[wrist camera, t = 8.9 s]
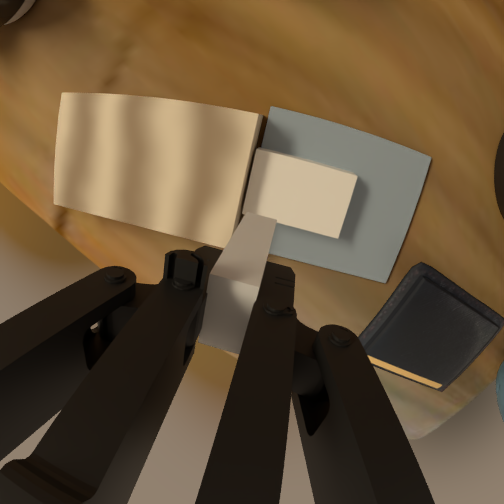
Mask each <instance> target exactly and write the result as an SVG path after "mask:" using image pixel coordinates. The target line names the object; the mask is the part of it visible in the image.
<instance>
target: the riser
mask: <svg viewBox="0 0 504 504" xmlns="http://www.w3.org/2000/svg"><path fill="white" fill-rule="evenodd" d="M262 119H263V115H260V114H256V113H251V112H246V111H241V110H236V109H231V108H225V107H220V106H214V105H208V104H201V103H195V102H188V101H180V100H172V99H164V98H155V97H145V96H133V95H119V94H101V93H62V96H61V103H60V110H59V119H58V128H57V138H56V151H55V168H54V204H56V205H60V206H63V207H67V208H71V209H75V210H79V211H82V212H86V213H90V214H94V215H98V216H102V217H105V218H109V219H113V220H117V221H121V222H125V223H128V224H132V225H136V226H140V227H144V228H148V229H152V230H155V231H159V232H163V233H167V234H171V235H175V236H179V237H183V238H186V239H190V240H194V241H198V242H202V243H206V244H210V245H214V246H217V247H221V248H225V247H226V245H227V244H228V242H229V240H230V239H231V237H232V235H233V234H234V232H235V230H236V229H237V227H238V225H239V221H240V217H241V212H242V208H243V203H244V199H245V194H246V190H247V185H248V181H249V176H250V172H251V167H252V163H253V158H254V154H255V150H256V145H257V141H258V137H259V132H260V128H261V124H262Z"/></svg>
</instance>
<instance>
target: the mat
mask: <svg viewBox="0 0 504 504" xmlns="http://www.w3.org/2000/svg"><path fill="white" fill-rule="evenodd" d="M261 148H265V149H269V150H273V151H277V152H281V153H285V154H289V155H293V156H297V157H301V158H304V159H308V160H312V161H315V162H319V163H323V164H326V165H330V166H333V167H336V168H340V169H343V170H346V171H350V172H353V173H354V174H356V175H357V176H358V177H357V180H356V183H355V187H354V190H353V193H352V197H351V200H350V203H349V206H348V209H347V213H346V216H345V219H344V222H343V225H342V228H341V231H340V234H339V237H338V239H337V238H333V237H330V236H326V235H322V234H318V233H315V232H311V231H307V230H303V229H300V228H296V227H292V226H288V225H284V224H280V223H277V222H276V226H275V230H274V234H273V238H272V241H271V245H270V249H269V253H270V254H273V255H277V256H281V257H285V258H289V259H293V260H297V261H301V262H305V263H309V264H312V265H316V266H320V267H324V268H328V269H332V270H336V271H340V272H343V273H347V274H351V275H355V276H359V277H363V278H367V279H371V280H374V281H378V282H382V283H386V281H387V279H388V277H389V274H390V272H391V270H392V267H393V265H394V263H395V260H396V258H397V255H398V253H399V250H400V248H401V245H402V243H403V240H404V238H405V235H406V232H407V230H408V227H409V224H410V222H411V219H412V216H413V213H414V210H415V208H416V205H417V202H418V199H419V196H420V193H421V190H422V187H423V184H424V180H425V177H426V174H427V171H428V167H429V164H430V161H431V157H429V156H427V155H425V154H422V153H420V152H417V151H415V150H412V149H410V148H407V147H405V146H402V145H399V144H397V143H394V142H391V141H389V140H386V139H383V138H380V137H378V136H375V135H372V134H369V133H366V132H363V131H360V130H357V129H354V128H351V127H347V126H344V125H341V124H338V123H334V122H331V121H327V120H324V119H320V118H317V117H313V116H309V115H306V114H302V113H298V112H294V111H290V110H286V109H281V108H277V107H273V106H271V108H270V112H269V116H268V120H267V125H266V129H265V133H264V137H263V142H262V146H261Z"/></svg>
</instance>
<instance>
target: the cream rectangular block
mask: <svg viewBox="0 0 504 504" xmlns="http://www.w3.org/2000/svg"><path fill="white" fill-rule="evenodd" d="M357 177H358V176H357V175H356V174H354V173H353V172H350V171H346V170H343V169H340V168H336V167H333V166H330V165H326V164H323V163H319V162H315V161H312V160H308V159H304V158H301V157H297V156H293V155H289V154H285V153H281V152H277V151H273V150H269V149H265V148H260V147H259V148H257V149H256V153H255V157H254V162H253V166H252V171H251V175H250V180H249V184H248V189H247V193H246V198H245V202H244V207H243V211H242V214H246V212H249V213H253V214H257V215H261V216H265V217H269V218H272V219H276V220H277V223H280V224H284V225H288V226H292V227H296V228H300V229H303V230H307V231H311V232H315V233H318V234H322V235H326V236H330V237H333V238H337V239H338V237H339V234H340V231H341V228H342V225H343V222H344V219H345V216H346V213H347V209H348V206H349V203H350V200H351V197H352V193H353V190H354V187H355V183H356V180H357Z"/></svg>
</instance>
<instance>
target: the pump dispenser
mask: <svg viewBox="0 0 504 504" xmlns="http://www.w3.org/2000/svg"><path fill="white" fill-rule="evenodd" d="M34 2H35V0H0V26H2V25H6V24H9V23H12V22H14V21H16V20H17V19H19V18H20V17H22V16H23V15H24V14H25V13H26V12H27V11H28V10H29V9H30V8H31V6H32V5H33V4H34Z"/></svg>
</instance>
